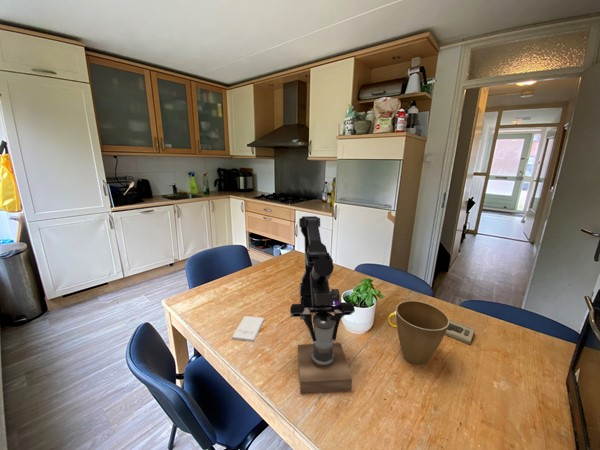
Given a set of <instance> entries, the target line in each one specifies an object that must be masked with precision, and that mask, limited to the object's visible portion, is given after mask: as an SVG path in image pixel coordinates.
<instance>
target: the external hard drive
mask: <svg viewBox="0 0 600 450" xmlns="http://www.w3.org/2000/svg"><path fill="white" fill-rule="evenodd" d="M264 321H265V318H264V317H259V316H258V317H257V316H249V315H244V317H243V318H242V320H241V321H240V323H239V325H238V326H237V328H236V329H235V331H234V333H233V335H232V336H231V340H235V341H245V342H251V343H254V342H255V341H256V338H257V336H258V334H259V332H260V330H261V328H262V326H263V323H264Z"/></svg>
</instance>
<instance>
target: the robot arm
mask: <svg viewBox="0 0 600 450" xmlns="http://www.w3.org/2000/svg"><path fill="white" fill-rule="evenodd" d="M298 221H299V222H298V225H299V226H298V227H299V228H300V232H301V234H302V236H303V238H304V273H303V275H302V277H301V282H300V283H299V297H300V303H292V304H291V306H290V308H289V309H290V310H289V311H290V313H289V314H290V317H291V318H298V317H299V318H300V320H303V321H304V323H305V325H306V327H307V330H308V333H309V335H310V338H311V341H312V342H313V343H314V341H315V337H314V324H313V316H312V314H316V313H319V312H328V313H330V314H332V315H334V317H335V318H336V323H335V326H334V334H333V342H334V341H337V340H336V339H337V335H338V329H339V324H340V322H341V319H343V317H345V316H351V315H352V314H353V313H355V312H356V311H355V309H356V308H355V305H354V303H353V302H352V301H350V302H349V301H347V302H339V301H340V291H339V290H340V289H339V288H332V289H330V284H329V280H330V277H331V276H332V274H333V272H334V260H333V258H332V256H331V255H330V252H328V249H327V247H326V245H325V244H324V243H322V238H321V233H320V227H321V217H318V216H315V215H314V216H313V215H312V216H311V215H310V216H308V215H307V216H305V215H304V216H303V215H302V216H301V217H300V218H299V220H298ZM334 302H339V304H337V305H334Z"/></svg>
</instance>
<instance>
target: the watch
mask: <svg viewBox="0 0 600 450" xmlns="http://www.w3.org/2000/svg"><path fill="white" fill-rule="evenodd" d="M394 316H395V317H396V310H395V311H394V312H391V313H390V314H389V315H388V319H387V321H388V323H389V325H390V327H393V328H397V324H395V323H393V322H391V319H390V318H391V317H394Z"/></svg>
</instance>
